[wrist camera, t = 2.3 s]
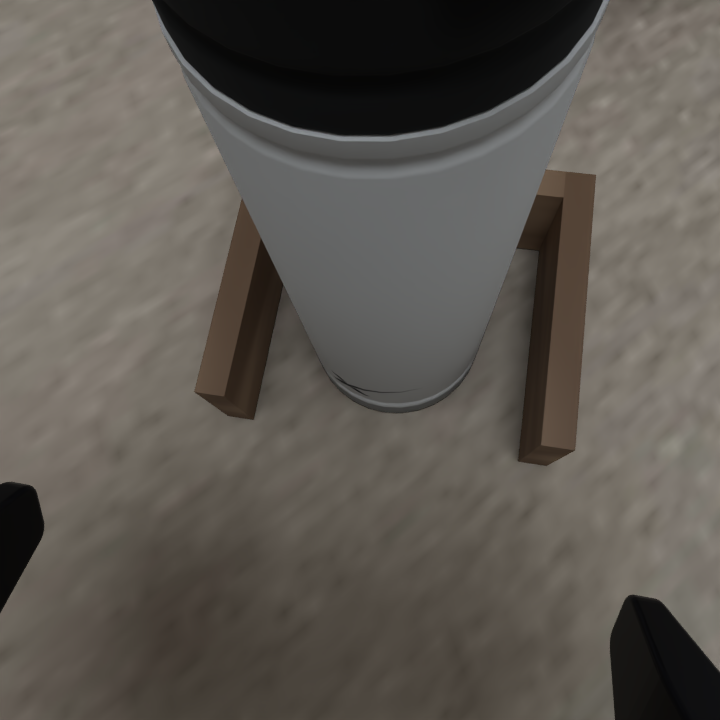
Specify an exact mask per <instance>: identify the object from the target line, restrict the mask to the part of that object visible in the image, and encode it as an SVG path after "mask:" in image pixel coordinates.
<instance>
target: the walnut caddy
mask: <svg viewBox="0 0 720 720" xmlns="http://www.w3.org/2000/svg"><path fill="white" fill-rule="evenodd" d="M595 180H596V175H592V174H582V173H573V172H563V171H553V170H545V173H544V176H543V178H542V181H541V184H540V186H539V189H538V192H537V194H536V197H535V200H534V202H533V205H532V208H531V210H530V213H529V216H528V218H527V221H526V224H525V226H524V229H523V232H522V234H521V237H520V240H519V242H518V245H517V248H523V249H531V250H539V259H538V269H537V279H536V289H535V299H534V309H533V319H532V329H531V339H530V349H529V359H528V369H527V379H526V389H525V399H524V409H523V419H522V429H521V439H520V449H519V459H518V461H519V462H525V463H532V464H538V465H544V466H547V465H549V464H551V463H552V462H554V461H556V460H558V459H560V458H562V457H564V456H566V455H567V454H569V453H571V452H573V451H575V444H576V431H577V418H578V405H579V392H580V378H581V365H582V352H583V339H584V325H585V312H586V299H587V286H588V273H589V259H590V246H591V233H592V220H593V206H594V193H595ZM282 286H283V282H282V280H281V278H280V276H279V274H278V272H277V270H276V268H275V266H274V264H273V262H272V260H271V257H270V255H269V253H268V251H267V249H266V247H265V245H264V243H263V241H262V239H261V237H260V235H259V232H258V230H257V228H256V226H255V224H254V222H253V220H252V218H251V216H250V214H249V212H248V210H247V207H246V205H245V203H244V201H243V199H242V200H241V204H240V208H239V212H238V217H237V221H236V225H235V229H234V233H233V237H232V241H231V245H230V249H229V253H228V257H227V261H226V265H225V269H224V273H223V277H222V282H221V286H220V290H219V294H218V298H217V302H216V306H215V310H214V314H213V318H212V322H211V326H210V330H209V334H208V338H207V342H206V347H205V351H204V355H203V359H202V363H201V367H200V371H199V375H198V379H197V383H196V387H195V391H194V392H195V393H197V394H198V395H199V396H201V397H202V398H204V399H205V400H207V401H208V402H209V403H211V404H212V405H214V406H215V407H217V408H218V409H219V410H221V411H222V412H224V413H225V414H227V415H228V416H233V417H239V418H245V419H252V420H254V415H255V411H256V406H257V401H258V397H259V392H260V388H261V383H262V378H263V374H264V369H265V365H266V360H267V355H268V351H269V346H270V342H271V337H272V332H273V328H274V323H275V318H276V314H277V309H278V305H279V300H280V295H281V291H282Z"/></svg>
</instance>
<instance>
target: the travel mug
mask: <svg viewBox="0 0 720 720" xmlns="http://www.w3.org/2000/svg"><path fill="white" fill-rule="evenodd" d="M152 1H153V4H154V7H155V10H156V13H157V17H158V20H159V23H160V26H161V29H162V32H163V34H164V37H165V39H166V41H167V43H168V45H169V47H170V49H171V51H172V53H173V54H174V56H175V58H176V59H177V61H178V63H179V64H180V66H181V69H182V72H183V75H184V78H185V80H186V82H187V84H188V87H189V89H190V91H191V93H192V95H193V97H194V99H195V101H196V103H197V105H198V107H199V109H200V112H201V114H202V116H203V118H204V120H205V122H206V124H207V126H208V128H209V130H210V132H211V134H212V137H213V139H214V141H215V143H216V145H217V147H218V149H219V151H220V153H221V155H222V157H223V159H224V162H225V164H226V166H227V168H228V170H229V172H230V174H231V176H232V178H233V180H234V182H235V185H236V187H237V189H238V191H239V193H240V195H241V197H242V199H243V201H244V203H245V205H246V207H247V210H248V212H249V214H250V216H251V218H252V220H253V222H254V224H255V226H256V228H257V230H258V232H259V235H260V237H261V239H262V241H263V243H264V245H265V247H266V249H267V251H268V253H269V255H270V257H271V260H272V262H273V264H274V266H275V268H276V270H277V272H278V274H279V276H280V278H281V280H282V282H283V285H284V287H285V289H286V291H287V293H288V295H289V297H290V299H291V301H292V303H293V305H294V308H295V310H296V312H297V314H298V316H299V318H300V320H301V322H302V324H303V326H304V328H305V330H306V333H307V335H308V337H309V339H310V341H311V343H312V345H313V347H314V349H315V351H316V353H317V355H318V357H319V360H320V362H321V364H322V366H323V368H324V370H325V371H326V373H327V375H328V376H329V378H330V380H331V381H332V382H333V383H334V384H335V385H336V387H337V388H338V389H339V390H340V391H341V392H342V393H343V394H345V395H346V396H348V397H349V398H350V399H352V400H353V401H354V402H357V403H359V404H361V405H363V406H365V407H367V408H370V409H374V410H378V411H383V412H394V413H404V412H410V411H417V410H420V409H423V408H426V407H428V406H431V405H434V404H435V403H437V402H439V401H440V400H442V399H444V398H445V397H447V396H448V395H449V394H450V393H451V392H453V391H454V390H455V389H456V388H457V387H458V386H459V385H460V384H461V382H462V381H463V379H464V378H465V377H466V375H467V374H468V372H469V370H470V368H471V366H472V364H473V361H474V359H475V357H476V354H477V351H478V348H479V346H480V343H481V341H482V338H483V335H484V333H485V330H486V327H487V325H488V322H489V319H490V317H491V314H492V311H493V309H494V306H495V303H496V301H497V298H498V295H499V293H500V290H501V287H502V285H503V282H504V279H505V277H506V274H507V271H508V269H509V266H510V263H511V261H512V258H513V256H514V253H515V250H516V248H517V245H518V242H519V240H520V237H521V234H522V232H523V229H524V226H525V224H526V221H527V218H528V216H529V213H530V210H531V208H532V205H533V202H534V200H535V197H536V194H537V192H538V189H539V186H540V184H541V181H542V178H543V176H544V173H545V170H546V168H547V165H548V162H549V160H550V157H551V154H552V152H553V149H554V146H555V144H556V141H557V139H558V136H559V133H560V131H561V128H562V125H563V123H564V120H565V117H566V115H567V112H568V109H569V107H570V104H571V101H572V99H573V96H574V93H575V91H576V88H577V85H578V83H579V80H580V77H581V75H582V72H583V69H584V67H585V64H586V61H587V59H588V56H589V53H590V51H591V48H592V45H593V43H594V38H595V33H596V31H597V29H598V26H599V24H600V22H601V20H602V18H603V16H604V13H605V11H606V8H607V6H608V3H609V0H152Z"/></svg>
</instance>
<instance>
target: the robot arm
mask: <svg viewBox="0 0 720 720" xmlns="http://www.w3.org/2000/svg"><path fill="white" fill-rule="evenodd" d="M43 532H44V520H43V516H42V512H41V508H40V503H39V499H38V495H37V492H36V490H35V489H34V488H33V486H30V485H26V484H21V483H15V482H5V483H2V484H0V613H1V611H2V609H3V607H4V605H5V604H6V602H7V600H8V598H9V596H10V595H11V593H12V591H13V589H14V587H15V586H16V584H17V582H18V580H19V578H20V577H21V575H22V573H23V571H24V569H25V568H26V566H27V564H28V562H29V560H30V559H31V557H32V555H33V553H34V551H35V550H36V548H37V546H38V544H39V542H40V540H41V538H42V536H43ZM610 657H611V670H612V684H613V698H614V711H615V720H720V672H719V670H718V669H717V668H716V667H715V666H714V664H713V663H712V662H711V661H710V660H709V658H708V657H707V656H706V655H705V654H704V652H703V651H702V650H701V649H700V648H699V646H698V645H697V644H696V643H695V641H694V640H693V639H692V638H691V637H690V635H689V634H688V633H687V632H686V631H685V629H684V628H683V627H682V626H681V625H680V623H679V622H678V621H677V620H676V618H675V617H674V616H673V615H672V614H671V612H670V611H669V610H668V609H667V608H666V606H665V605H664V604H663V603H662V602H660V601H659V600H657V599H654V598H649V597H643V596H638V595H629V596H628V597H627V598H626V599H625V601H624V603H623V605H622V608H621V610H620V613H619V615H618V618H617V620H616V622H615V625H614V627H613V630H612V633H611V638H610Z"/></svg>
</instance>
